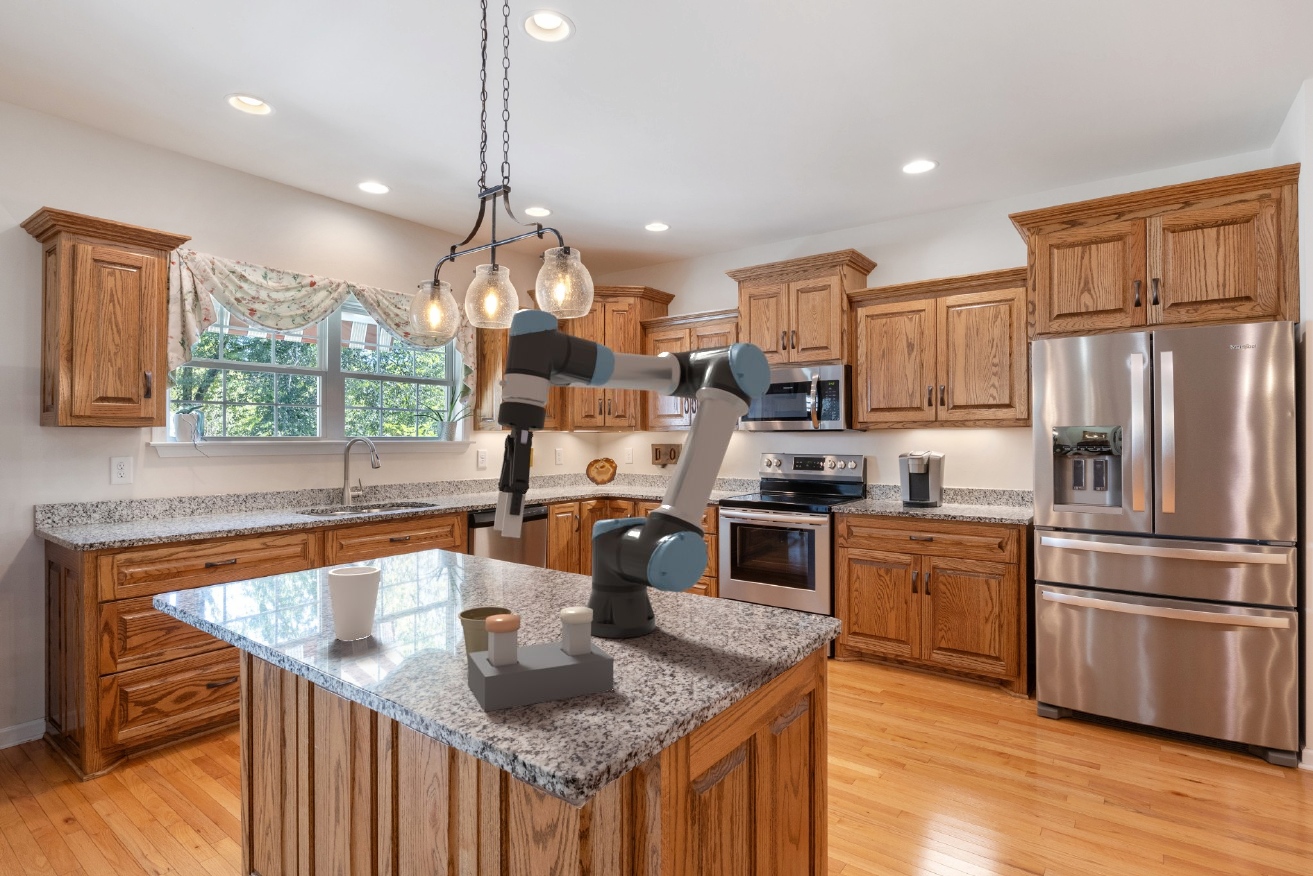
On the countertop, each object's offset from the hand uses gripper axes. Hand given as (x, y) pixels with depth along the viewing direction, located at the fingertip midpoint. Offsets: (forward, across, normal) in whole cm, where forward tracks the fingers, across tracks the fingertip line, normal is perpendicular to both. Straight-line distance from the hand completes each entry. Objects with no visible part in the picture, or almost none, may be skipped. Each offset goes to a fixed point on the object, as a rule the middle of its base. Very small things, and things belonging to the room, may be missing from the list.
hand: (505, 533), depth 109 cm
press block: (+23, +3, +8) cm, 25 cm away
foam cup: (+25, -35, -23) cm, 49 cm away
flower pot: (+24, -12, +1) cm, 27 cm away
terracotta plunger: (+19, +4, +2) cm, 20 cm away
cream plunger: (+18, +2, +14) cm, 22 cm away
